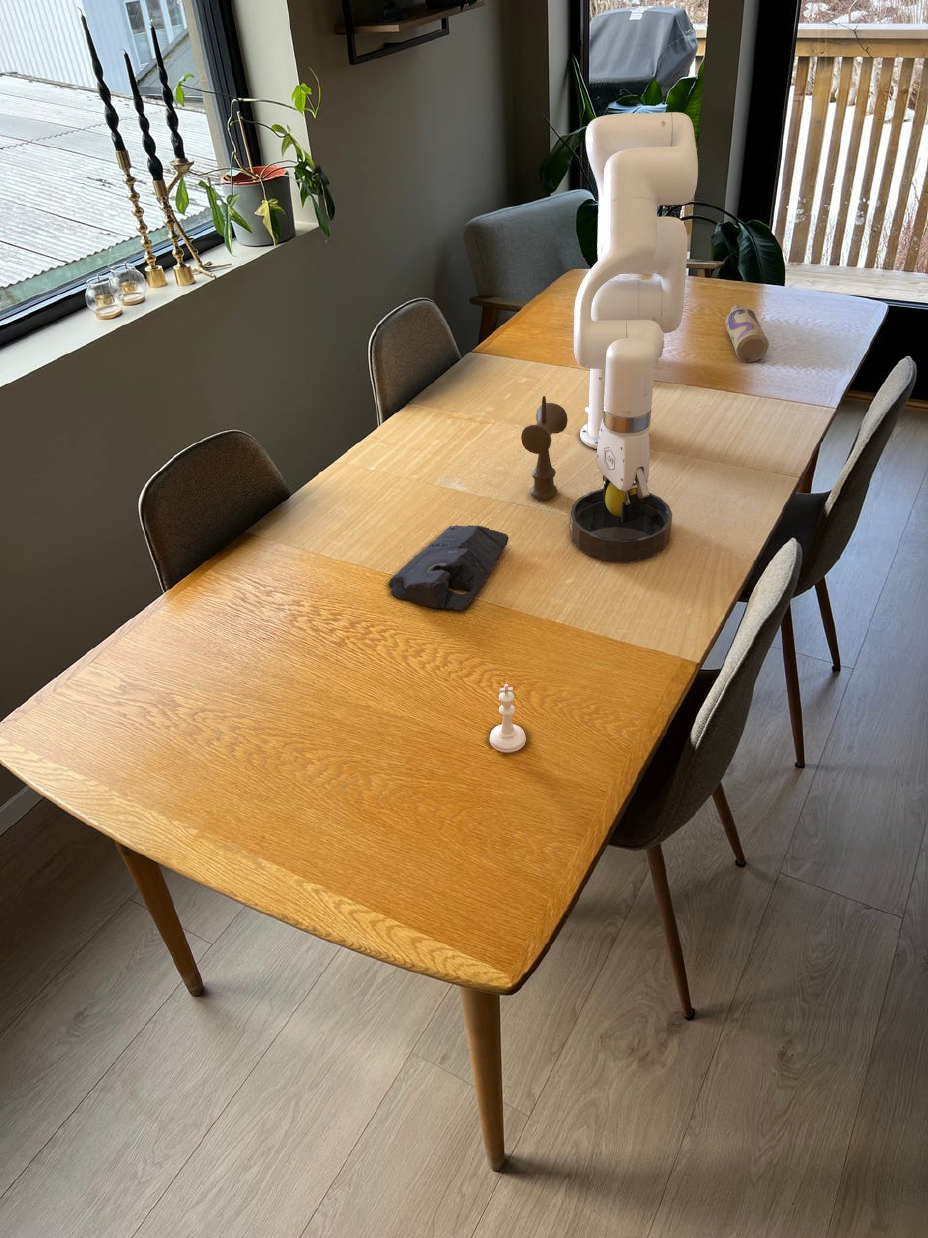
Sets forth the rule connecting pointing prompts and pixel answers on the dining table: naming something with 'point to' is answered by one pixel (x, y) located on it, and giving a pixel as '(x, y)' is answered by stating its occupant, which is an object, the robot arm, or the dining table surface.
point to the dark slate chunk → (450, 567)
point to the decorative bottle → (746, 334)
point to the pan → (619, 529)
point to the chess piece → (507, 725)
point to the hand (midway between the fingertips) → (620, 510)
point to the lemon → (615, 499)
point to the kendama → (544, 447)
